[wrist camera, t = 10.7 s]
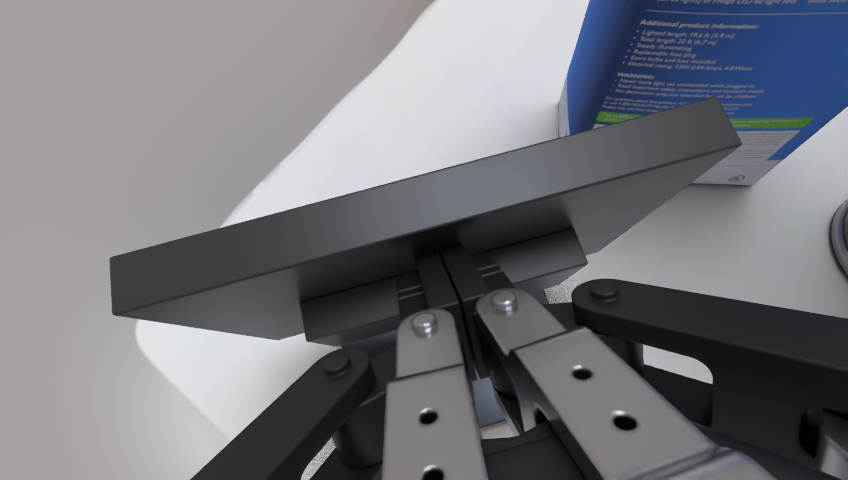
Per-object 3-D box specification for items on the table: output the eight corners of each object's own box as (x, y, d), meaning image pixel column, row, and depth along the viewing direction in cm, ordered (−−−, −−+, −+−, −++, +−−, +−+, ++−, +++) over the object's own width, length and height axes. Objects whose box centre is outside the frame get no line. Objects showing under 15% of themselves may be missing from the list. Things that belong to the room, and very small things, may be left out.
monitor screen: (271, 307, 22) (107, 253, 11) (586, 221, 22) (715, 91, 12) (283, 385, 21) (115, 406, 10) (615, 292, 21) (787, 219, 11)
